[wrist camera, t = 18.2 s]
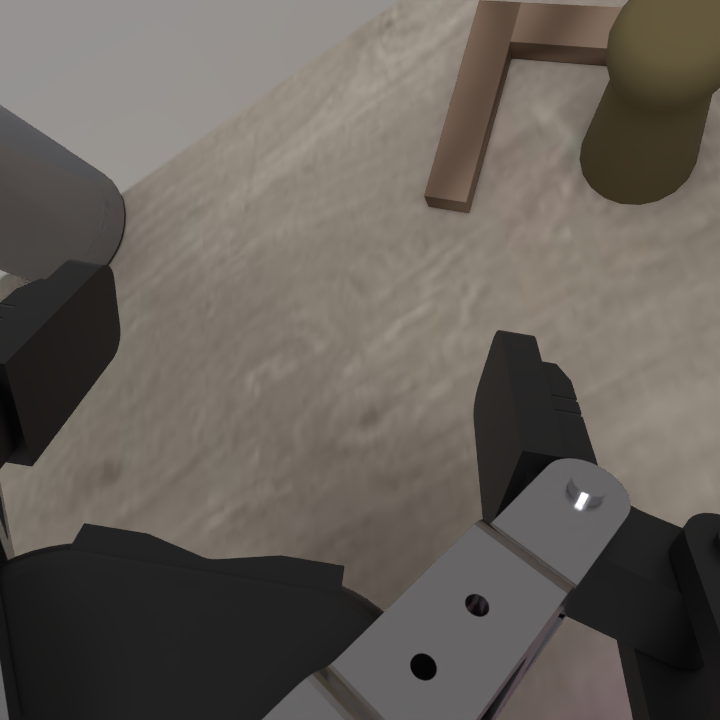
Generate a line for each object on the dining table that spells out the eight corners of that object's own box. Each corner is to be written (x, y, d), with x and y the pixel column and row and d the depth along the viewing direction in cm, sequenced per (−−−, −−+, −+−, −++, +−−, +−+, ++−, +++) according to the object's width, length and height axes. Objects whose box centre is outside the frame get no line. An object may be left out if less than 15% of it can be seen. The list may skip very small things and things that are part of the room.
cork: (564, 129, 35) (577, -13, 24) (672, 85, 33) (734, -85, 23) (602, 221, 33) (633, 112, 23) (716, 179, 32) (804, 43, 22)
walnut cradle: (428, 206, 36) (424, 195, 35) (481, 17, 37) (479, 0, 36) (832, 272, 30) (847, 262, 28) (882, 42, 31) (900, 21, 29)
